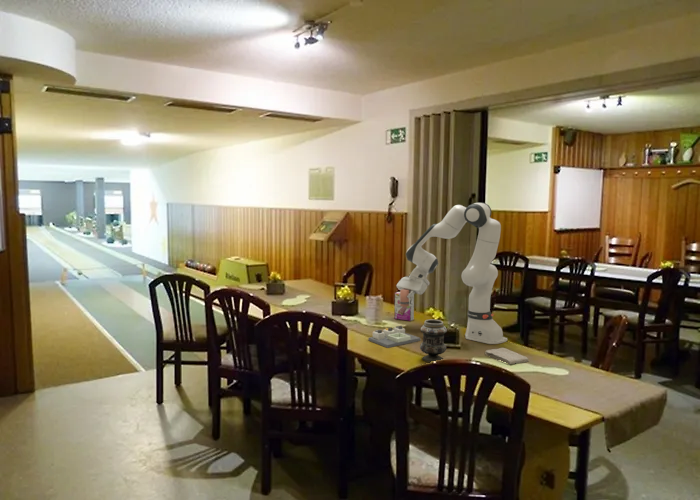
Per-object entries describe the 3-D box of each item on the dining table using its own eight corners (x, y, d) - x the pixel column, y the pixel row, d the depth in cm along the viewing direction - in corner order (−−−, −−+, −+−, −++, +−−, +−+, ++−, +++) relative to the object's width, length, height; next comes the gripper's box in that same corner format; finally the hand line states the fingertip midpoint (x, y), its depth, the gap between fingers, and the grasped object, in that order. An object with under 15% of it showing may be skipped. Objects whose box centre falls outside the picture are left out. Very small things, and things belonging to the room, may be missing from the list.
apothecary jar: (451, 361, 229) (452, 322, 227) (429, 365, 224) (430, 325, 222) (436, 354, 240) (436, 317, 238) (414, 357, 235) (415, 319, 233)
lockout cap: (411, 306, 281) (411, 290, 280) (404, 307, 278) (404, 291, 277) (405, 304, 285) (405, 288, 284) (398, 305, 282) (398, 289, 281)
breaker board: (420, 340, 262) (420, 329, 261) (387, 347, 250) (387, 336, 249) (400, 333, 275) (400, 323, 275) (368, 340, 263) (368, 329, 262)
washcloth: (502, 351, 244) (502, 345, 244) (529, 362, 228) (529, 356, 228) (482, 355, 239) (482, 348, 239) (509, 366, 223) (509, 359, 223)
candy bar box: (394, 319, 309) (394, 293, 307) (397, 317, 313) (397, 291, 311) (410, 321, 303) (410, 294, 301) (414, 319, 307) (414, 293, 305)
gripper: (402, 272, 292) (389, 290, 288) (426, 276, 276) (412, 296, 271) (407, 279, 295) (395, 297, 291) (432, 283, 279) (418, 303, 274)
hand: (403, 296), depth 281 cm, fingers closed on lockout cap, 5 cm apart
